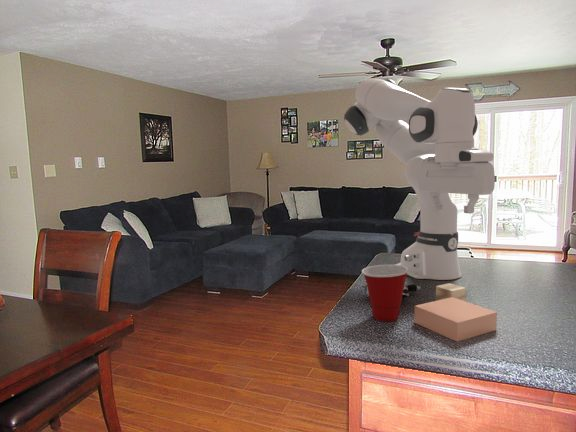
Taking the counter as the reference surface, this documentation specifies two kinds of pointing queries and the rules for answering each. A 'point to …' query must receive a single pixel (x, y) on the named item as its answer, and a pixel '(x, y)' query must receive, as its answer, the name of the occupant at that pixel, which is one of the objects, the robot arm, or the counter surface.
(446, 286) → the maple cube
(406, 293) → the robot toy
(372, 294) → the plastic cup
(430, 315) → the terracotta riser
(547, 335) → the counter surface
